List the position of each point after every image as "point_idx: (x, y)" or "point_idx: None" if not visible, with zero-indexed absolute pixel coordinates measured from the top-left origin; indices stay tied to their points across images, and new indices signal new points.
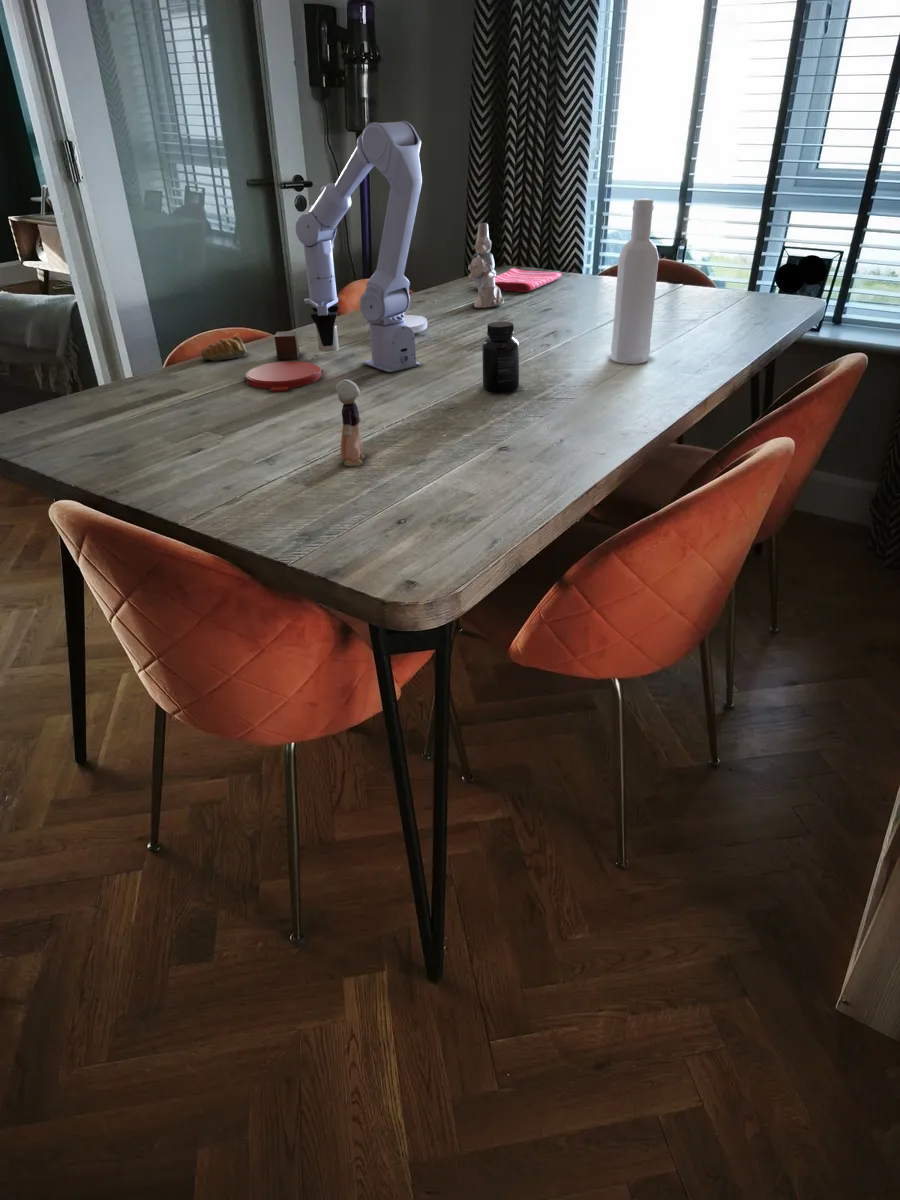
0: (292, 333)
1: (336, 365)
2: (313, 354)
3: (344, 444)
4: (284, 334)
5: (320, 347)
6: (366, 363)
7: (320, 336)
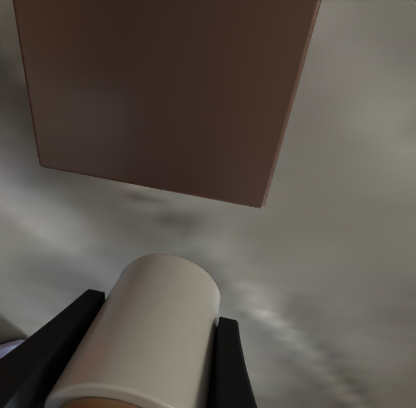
0: (146, 151)
1: (15, 266)
2: (218, 212)
3: None
4: (118, 36)
5: (131, 270)
6: (7, 345)
7: (39, 331)
